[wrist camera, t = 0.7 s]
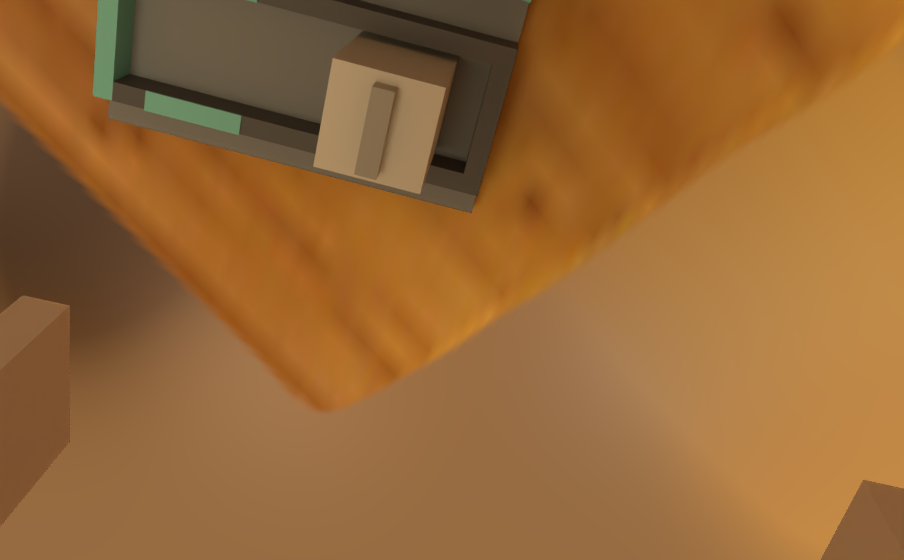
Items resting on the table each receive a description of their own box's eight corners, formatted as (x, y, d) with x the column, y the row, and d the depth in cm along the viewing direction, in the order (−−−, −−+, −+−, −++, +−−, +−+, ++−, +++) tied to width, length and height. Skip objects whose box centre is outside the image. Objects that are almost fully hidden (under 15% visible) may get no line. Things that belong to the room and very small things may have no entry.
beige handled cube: (363, 30, 34) (327, 62, 28) (458, 55, 34) (443, 93, 28) (345, 123, 36) (307, 173, 30) (436, 147, 36) (417, 201, 30)
